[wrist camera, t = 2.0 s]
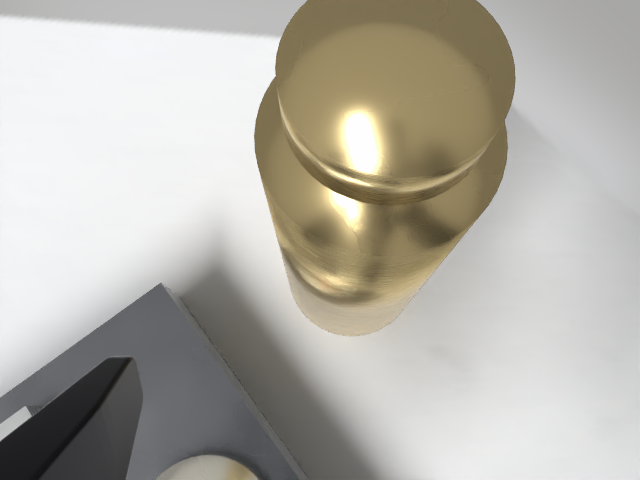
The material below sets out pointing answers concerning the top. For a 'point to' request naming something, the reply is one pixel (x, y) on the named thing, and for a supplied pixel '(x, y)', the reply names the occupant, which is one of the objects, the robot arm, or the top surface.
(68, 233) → the top surface
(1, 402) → the scale
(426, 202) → the weight
